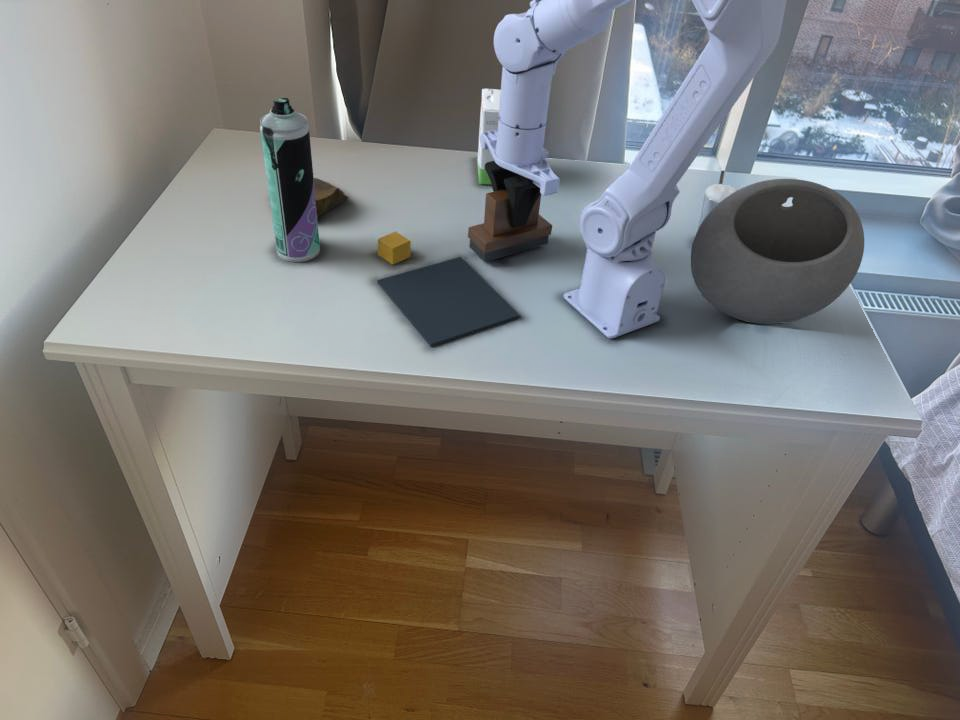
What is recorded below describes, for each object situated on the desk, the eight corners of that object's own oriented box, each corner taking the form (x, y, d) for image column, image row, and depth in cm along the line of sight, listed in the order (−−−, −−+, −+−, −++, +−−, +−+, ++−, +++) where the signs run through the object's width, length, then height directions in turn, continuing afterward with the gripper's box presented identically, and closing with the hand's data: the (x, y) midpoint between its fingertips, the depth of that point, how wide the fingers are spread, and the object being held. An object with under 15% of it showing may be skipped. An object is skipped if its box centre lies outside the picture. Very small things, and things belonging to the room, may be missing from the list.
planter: (673, 324, 90) (715, 182, 77) (674, 291, 95) (713, 154, 83) (831, 351, 87) (900, 210, 75) (823, 316, 93) (886, 179, 80)
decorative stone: (262, 197, 106) (259, 175, 104) (318, 179, 111) (316, 157, 109) (301, 228, 101) (298, 205, 98) (358, 208, 106) (357, 185, 103)
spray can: (310, 265, 94) (295, 112, 81) (270, 258, 95) (247, 105, 82) (326, 243, 98) (313, 94, 85) (286, 236, 99) (268, 87, 86)
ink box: (510, 186, 113) (517, 111, 106) (477, 185, 113) (482, 109, 105) (507, 161, 120) (513, 88, 112) (476, 159, 120) (481, 87, 112)
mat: (519, 317, 89) (519, 314, 88) (430, 347, 83) (430, 344, 83) (460, 259, 97) (460, 256, 97) (377, 282, 92) (377, 280, 92)
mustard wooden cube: (410, 257, 97) (410, 240, 95) (392, 265, 95) (392, 248, 94) (395, 247, 99) (395, 231, 97) (378, 255, 97) (377, 238, 95)
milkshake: (719, 236, 106) (740, 172, 99) (725, 256, 102) (747, 191, 95) (687, 233, 106) (706, 168, 100) (692, 253, 102) (711, 187, 95)
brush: (531, 229, 103) (537, 176, 98) (549, 244, 100) (557, 190, 95) (467, 246, 98) (470, 192, 93) (484, 263, 96) (488, 208, 90)
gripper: (586, 138, 85) (569, 239, 94) (516, 92, 94) (507, 189, 103) (536, 149, 82) (523, 253, 91) (469, 101, 91) (463, 200, 100)
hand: (512, 220), depth 97 cm, fingers closed on brush, 2 cm apart
